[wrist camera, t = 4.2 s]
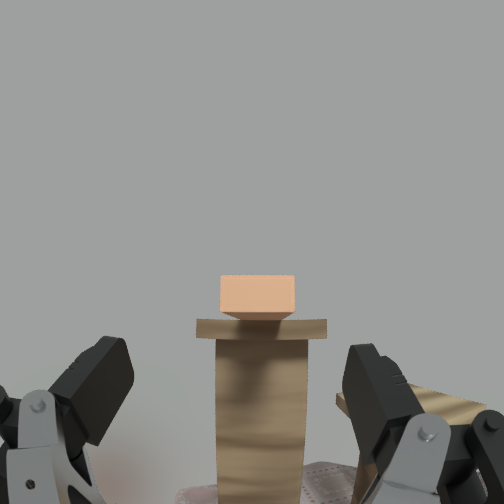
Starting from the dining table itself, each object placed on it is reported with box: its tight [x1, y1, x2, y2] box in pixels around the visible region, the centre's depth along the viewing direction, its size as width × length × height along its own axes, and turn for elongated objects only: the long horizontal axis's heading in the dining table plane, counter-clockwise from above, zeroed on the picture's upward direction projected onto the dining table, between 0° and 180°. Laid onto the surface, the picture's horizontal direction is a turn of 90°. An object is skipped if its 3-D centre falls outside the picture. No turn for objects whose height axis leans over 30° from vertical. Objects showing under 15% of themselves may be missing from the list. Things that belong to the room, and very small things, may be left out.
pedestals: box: [196, 319, 486, 504], centre depth 20 cm, size 18×24×34 cm
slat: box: [220, 275, 295, 320], centre depth 25 cm, size 28×3×2 cm, turn 177°
